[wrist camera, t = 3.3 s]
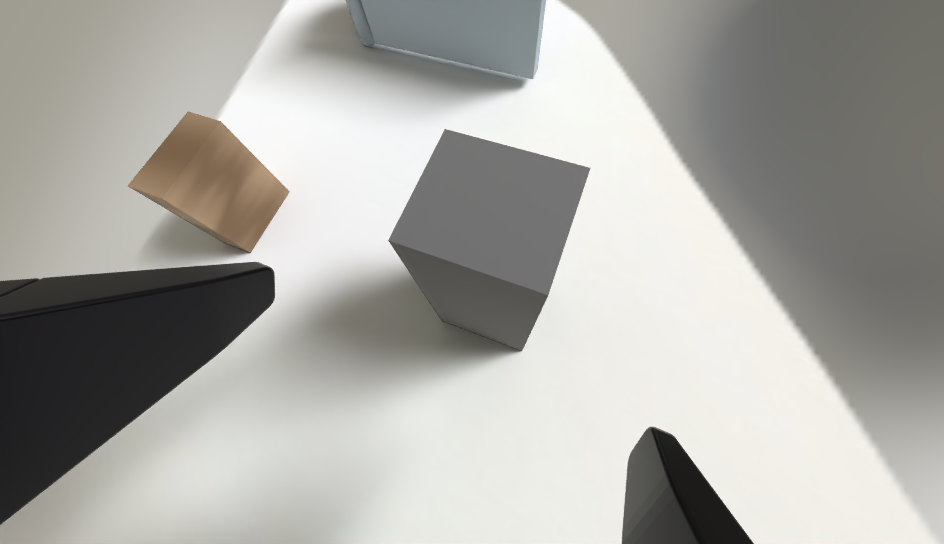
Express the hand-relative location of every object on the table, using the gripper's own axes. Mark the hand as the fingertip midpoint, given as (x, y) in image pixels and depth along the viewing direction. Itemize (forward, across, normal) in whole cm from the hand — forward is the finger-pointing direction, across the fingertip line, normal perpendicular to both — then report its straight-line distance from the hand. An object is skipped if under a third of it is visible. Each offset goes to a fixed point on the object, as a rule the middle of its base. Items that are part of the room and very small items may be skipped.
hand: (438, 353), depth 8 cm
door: (+22, +10, -7) cm, 25 cm away
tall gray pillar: (+11, 0, +4) cm, 12 cm away
